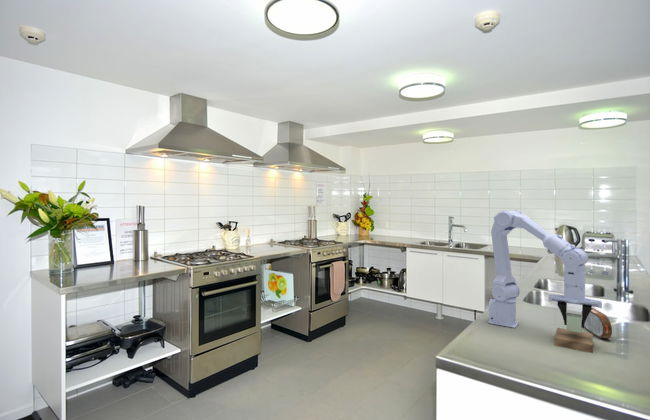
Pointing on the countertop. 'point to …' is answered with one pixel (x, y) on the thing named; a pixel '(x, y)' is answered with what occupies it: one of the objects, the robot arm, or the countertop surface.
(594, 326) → the tin
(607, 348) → the countertop surface
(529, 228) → the robot arm
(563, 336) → the walnut block
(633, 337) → the countertop surface
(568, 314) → the sage cube
